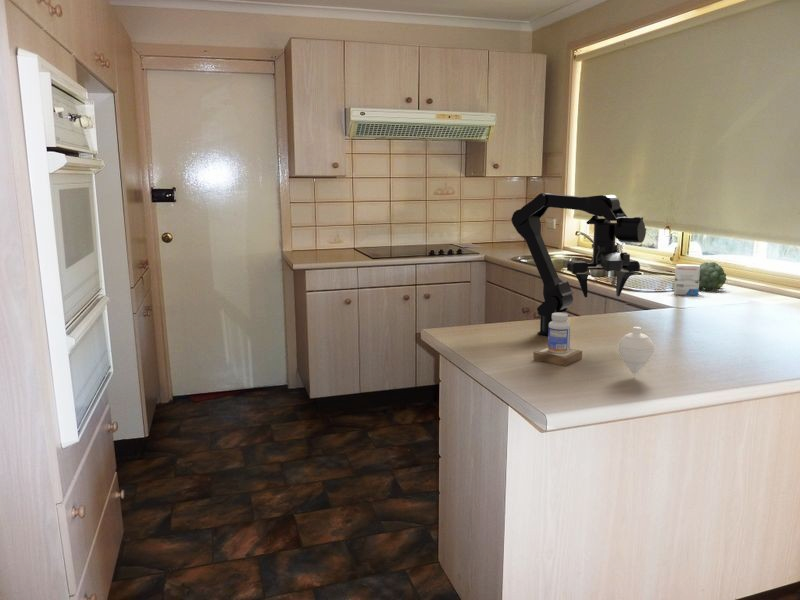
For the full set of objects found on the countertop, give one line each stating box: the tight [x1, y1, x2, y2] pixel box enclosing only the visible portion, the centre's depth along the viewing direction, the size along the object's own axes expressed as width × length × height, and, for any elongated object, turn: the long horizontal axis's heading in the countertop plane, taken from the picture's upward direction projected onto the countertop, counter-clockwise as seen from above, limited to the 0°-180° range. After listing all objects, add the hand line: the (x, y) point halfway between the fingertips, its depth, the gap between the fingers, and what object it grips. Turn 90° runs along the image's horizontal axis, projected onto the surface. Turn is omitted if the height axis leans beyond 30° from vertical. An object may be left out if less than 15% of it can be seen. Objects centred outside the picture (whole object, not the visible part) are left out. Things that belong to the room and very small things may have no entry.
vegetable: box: [699, 261, 727, 292], centre depth 255 cm, size 12×13×15 cm
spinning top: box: [617, 326, 655, 379], centre depth 143 cm, size 8×8×12 cm
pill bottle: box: [547, 312, 571, 353], centre depth 159 cm, size 5×5×10 cm
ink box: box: [673, 263, 701, 297], centre depth 245 cm, size 9×5×12 cm, turn 58°
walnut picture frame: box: [532, 345, 583, 367], centre depth 160 cm, size 9×9×2 cm
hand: (601, 296), depth 174 cm, fingers open, 9 cm apart
